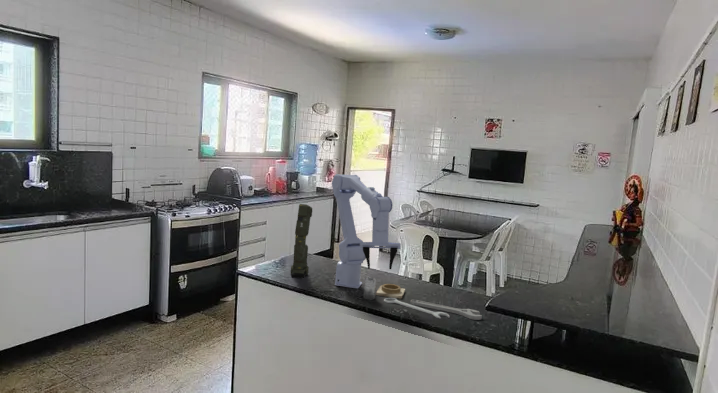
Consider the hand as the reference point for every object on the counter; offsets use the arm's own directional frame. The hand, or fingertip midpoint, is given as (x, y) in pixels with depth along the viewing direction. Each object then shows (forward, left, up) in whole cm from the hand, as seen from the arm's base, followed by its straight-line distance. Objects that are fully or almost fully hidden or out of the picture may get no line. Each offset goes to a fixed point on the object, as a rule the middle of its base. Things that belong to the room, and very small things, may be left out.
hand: (379, 268), depth 164 cm
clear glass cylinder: (-3, 0, -11) cm, 12 cm away
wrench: (+14, -3, -12) cm, 19 cm away
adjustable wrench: (+25, 0, -12) cm, 27 cm away
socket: (+3, +9, -11) cm, 15 cm away
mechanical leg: (-36, +17, -12) cm, 42 cm away
